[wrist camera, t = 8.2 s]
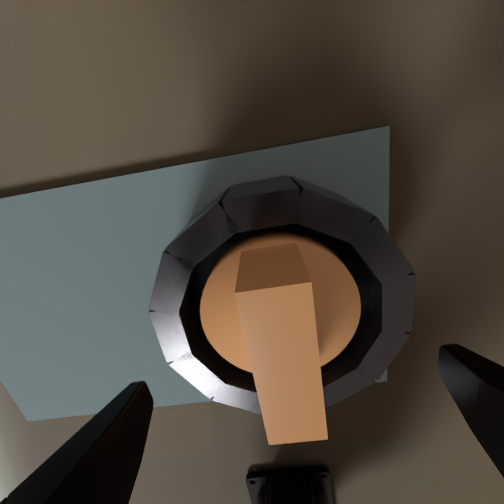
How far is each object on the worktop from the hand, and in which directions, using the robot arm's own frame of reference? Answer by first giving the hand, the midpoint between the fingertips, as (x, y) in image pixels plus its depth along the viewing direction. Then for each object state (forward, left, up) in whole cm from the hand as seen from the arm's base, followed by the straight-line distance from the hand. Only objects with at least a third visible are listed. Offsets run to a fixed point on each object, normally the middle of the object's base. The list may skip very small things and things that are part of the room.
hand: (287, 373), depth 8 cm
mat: (-1, +7, -7) cm, 10 cm away
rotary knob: (0, 0, -4) cm, 4 cm away
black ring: (0, 0, -7) cm, 7 cm away
